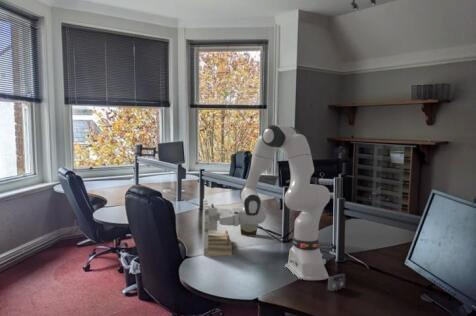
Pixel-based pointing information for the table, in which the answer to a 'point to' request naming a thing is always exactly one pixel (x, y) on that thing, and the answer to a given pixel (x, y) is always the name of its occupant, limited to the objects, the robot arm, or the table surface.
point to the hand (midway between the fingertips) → (209, 216)
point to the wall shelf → (214, 238)
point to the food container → (249, 229)
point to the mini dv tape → (336, 282)
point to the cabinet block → (212, 222)
